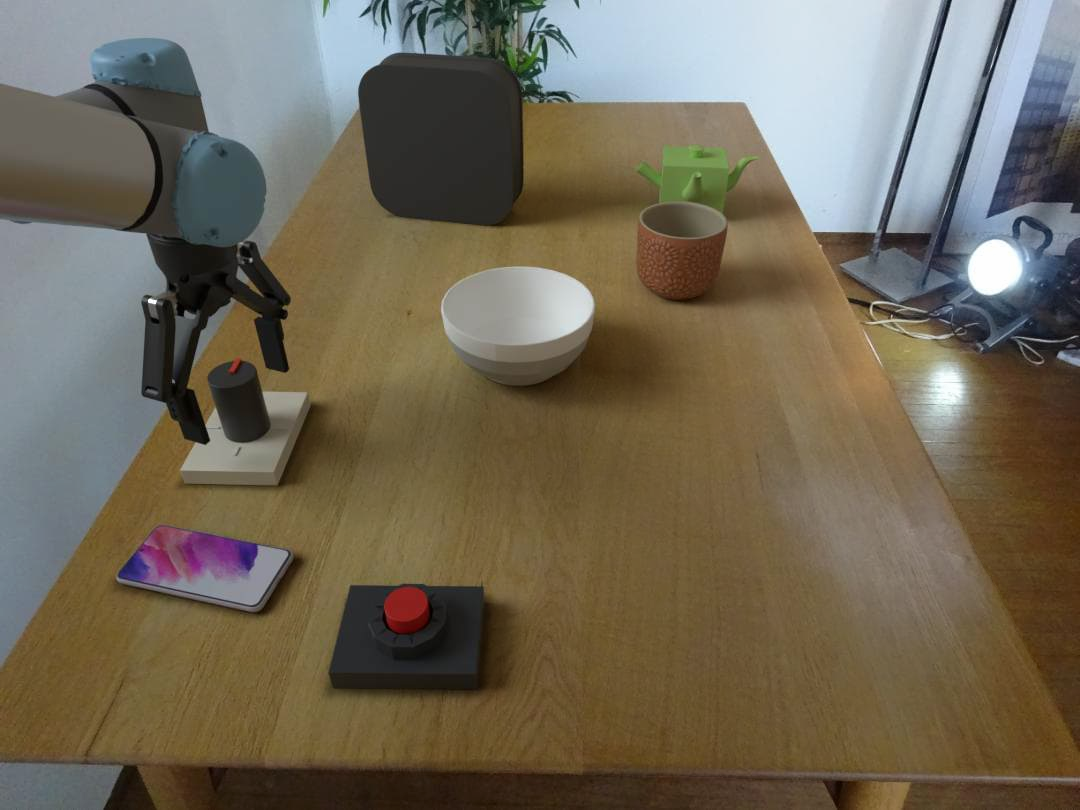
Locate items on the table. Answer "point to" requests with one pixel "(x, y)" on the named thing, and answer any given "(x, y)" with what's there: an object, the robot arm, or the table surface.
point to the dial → (239, 401)
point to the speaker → (443, 136)
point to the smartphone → (206, 567)
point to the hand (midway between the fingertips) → (239, 402)
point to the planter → (680, 248)
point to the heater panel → (249, 447)
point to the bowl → (518, 323)
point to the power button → (407, 610)
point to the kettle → (695, 175)
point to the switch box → (410, 641)
